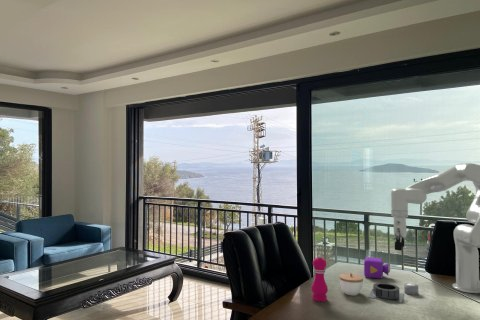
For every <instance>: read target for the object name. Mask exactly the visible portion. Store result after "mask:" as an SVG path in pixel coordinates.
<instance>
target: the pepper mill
mask: <svg viewBox="0 0 480 320" xmlns="http://www.w3.org/2000/svg"><path fill="white" fill-rule="evenodd" d="M312 266H313V267H314V268H313V272H314V280H313V282H312V284H311V288H310V289H311V292H312V300H313V301H315V302H320V301H321V302H326V301H327V294H328V291H329V289H328V285H327V283H326V281H325V273H326V267H327V261H326V259H325V258H323V257H322V254H318V255H317V257H315V258H314V259H313V260H312Z"/></svg>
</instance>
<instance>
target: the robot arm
mask: <svg viewBox="0 0 480 320" xmlns="http://www.w3.org/2000/svg"><path fill="white" fill-rule="evenodd" d="M466 181H468V182H472V184H473V185H474V188H475V196H474V197H473V200H472V202H471V204H470V205H469V207H468V209H467V211H466V214H465V218H466V220H467V221H468V222H469V223H471V224H473V225H471V224H466V223H464V224H463V223H462V224H458V225H457V226H455V228H454V229H453V240H454V244H455V283H453V284H452V288H453V289H454V290H457V291H460V292H463V293H470V294H480V268H479V267H480V262H479V261H480V259H479V258H480V255H479V250H478V249H480V164H476V163H470V162H469V163H467V162H466V163H464V162H463V163H458V164H454V165H453V166H451V167H449V168H448V169H446V170H443V171H441V172H440V173H437V174H436V175H434V176H430V177H428V178H426V179H422V180H420V181H417V182H416V183H413V184H411V185H409V186H407V187H406V188H392V189H391V192H390V195H391V196H390V198H391V200H390V201H391V203H390V204H391V205H390V206H391V207H390V208H391V210H390V212H391V213H390V214H391V217H393V236H394V251H400V252H401V251H403V248H404V247H405V238H406V237H407V218H409V204H413V205H414V204H415V205H421V204H424V203H425V202H426V201H427V195H428V194H434V193H441V192H445V191H448V190H449V189H451V188H454V187H455V186H457V185H458V184H461V183H462V182H466Z"/></svg>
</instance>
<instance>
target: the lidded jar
mask: <svg viewBox="0 0 480 320" xmlns="http://www.w3.org/2000/svg"><path fill="white" fill-rule="evenodd" d="M339 285H340V288H341V291H343V292H344V294H345V295H348V296H358V295H359V294H360V292H361V291H362V290H363V285H364V277H362V275H359V274H356V273H353V272H350V273H341V274H339Z"/></svg>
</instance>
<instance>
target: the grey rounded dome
mask: <svg viewBox="0 0 480 320" xmlns="http://www.w3.org/2000/svg"><path fill="white" fill-rule="evenodd" d="M403 286H404V289H403V290H404V293H403V294H404V295H409V296H419V284H416V283H413V282H412V283H411V282H404V285H403Z"/></svg>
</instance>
